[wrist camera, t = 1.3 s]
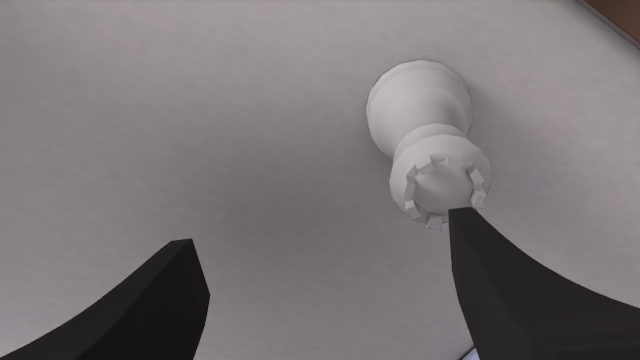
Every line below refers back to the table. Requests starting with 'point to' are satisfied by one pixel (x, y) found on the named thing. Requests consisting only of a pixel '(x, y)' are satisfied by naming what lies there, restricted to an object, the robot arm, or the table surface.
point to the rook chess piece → (428, 141)
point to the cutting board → (618, 16)
